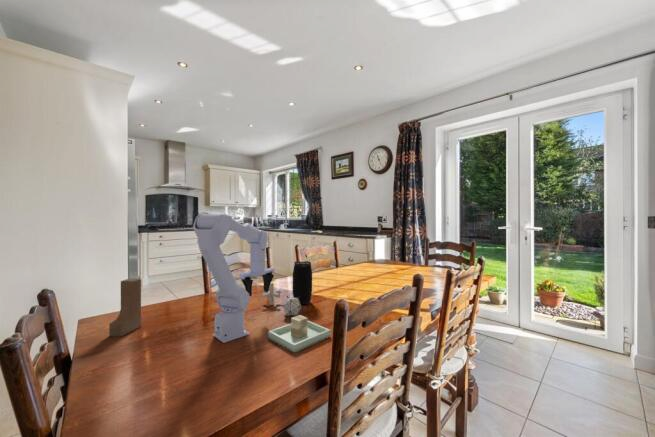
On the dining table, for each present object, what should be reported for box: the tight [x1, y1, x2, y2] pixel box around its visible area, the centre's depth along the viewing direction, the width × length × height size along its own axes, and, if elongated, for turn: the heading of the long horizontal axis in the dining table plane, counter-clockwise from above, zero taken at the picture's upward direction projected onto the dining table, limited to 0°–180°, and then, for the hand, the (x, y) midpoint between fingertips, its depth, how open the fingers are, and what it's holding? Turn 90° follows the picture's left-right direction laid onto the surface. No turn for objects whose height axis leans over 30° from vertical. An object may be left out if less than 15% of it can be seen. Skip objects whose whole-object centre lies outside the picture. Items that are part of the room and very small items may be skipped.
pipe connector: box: [261, 282, 282, 306], centre depth 130 cm, size 10×10×10 cm
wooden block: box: [108, 277, 142, 338], centre depth 99 cm, size 9×4×18 cm, turn 173°
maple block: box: [290, 314, 309, 339], centre depth 95 cm, size 4×4×6 cm
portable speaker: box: [292, 260, 313, 305], centre depth 133 cm, size 9×9×20 cm
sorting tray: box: [267, 320, 332, 354], centre depth 95 cm, size 16×14×2 cm
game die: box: [280, 295, 304, 317], centre depth 116 cm, size 9×8×10 cm
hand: (257, 293), depth 111 cm, fingers open, 7 cm apart
